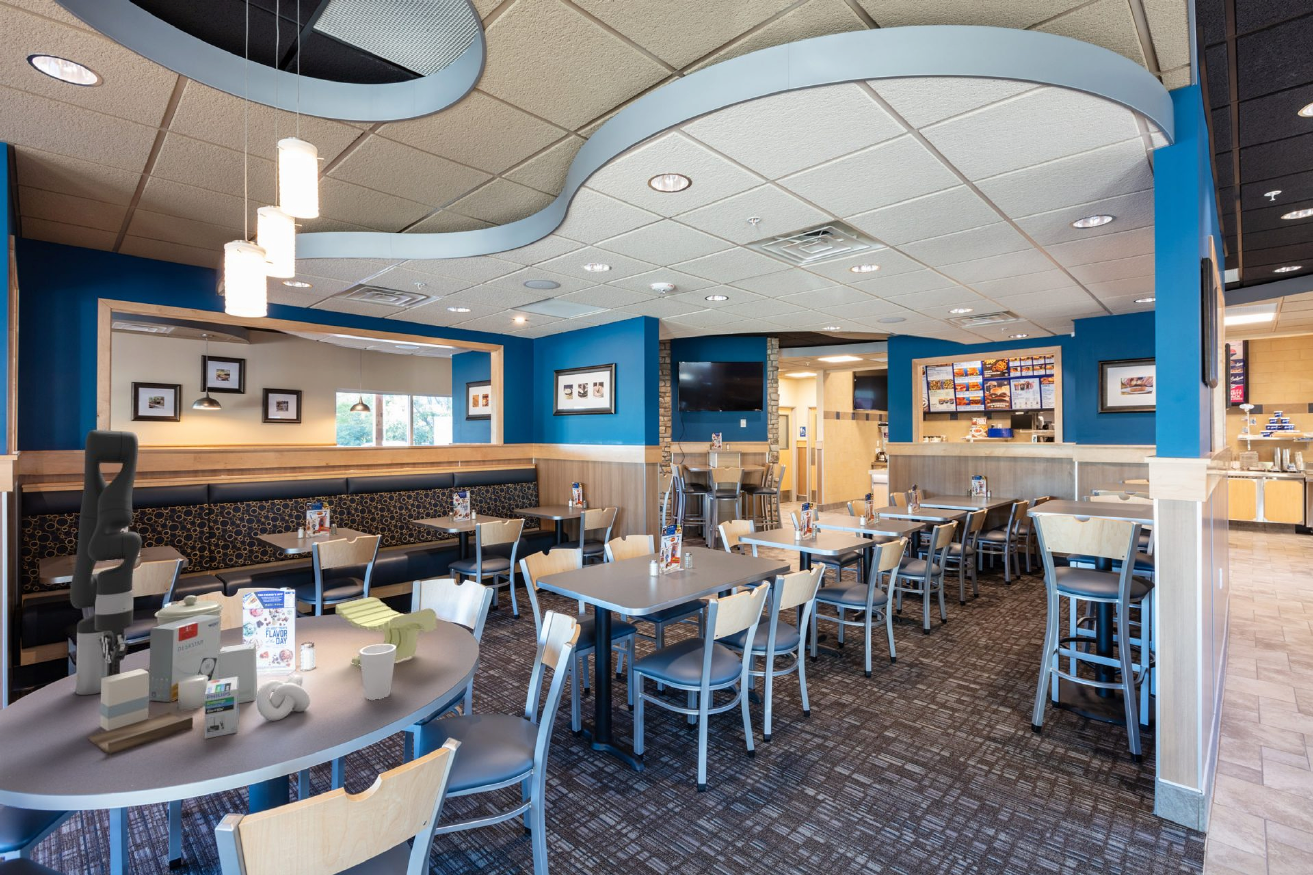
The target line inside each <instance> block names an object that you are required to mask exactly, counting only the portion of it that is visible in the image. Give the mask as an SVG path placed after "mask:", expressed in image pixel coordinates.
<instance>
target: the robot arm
mask: <svg viewBox="0 0 1313 875" xmlns="http://www.w3.org/2000/svg"><path fill="white" fill-rule="evenodd" d="M84 447H85V448H84V475H83V476H84V478H83V492H82V499H81V506H80V511H79V512H80V513H79V522H78V523H79V524H78V539H77V550H76V557H75V563H74V568H73V573H72V578H71V583H70V590H69V591H70V592H69V597H70V598H69V600H70V603H71V605H72V606H73V608H75V609H86V608H87V609H88V608H94V613H93V614H91V615H89V616H88V617H85V618H83V619H81V620H79V621H78V622H77V627H76V673H75V674H76V677H75V694H77V695H79V696H86V695H94V694H101V678H104V677H108V676H112V675H116V674H121V662H122V661H124V660H125V657H126V654H127V652H128V648H129V646H130V643H129V642H128V641H127V634H126V633H125V629H126V628H129V627H131V626H132V625H133V624H134V593H133V575H134V569H135V565H136V562H137V559H138V557H139V554H140V552H141V549H142V544H143V540H142V537H141V536H140V534H139V533H137V532H135V531H125V532H124V531H123V532H121V531H122V530H123V529H126V528H128V527H130V526H131V525H132V522H133V489H134V483H135V480H136V472H137V463H138V462H137V461H138V455H139V440H138V436H137V435H136V433H135V432H132V431H123V430H121V431H120V430H107V429H106V430H105V429H104V430H103V429H92V430H90V431H89V432H88V433H87V436H86V439H85V446H84ZM100 464H122V465H121V468H120V471H119V472H118V474H117V475H115V477H114V479H113V480H112V481H110V482H109V484H108V483H107V481H106V480H105V478H104V476H103V474H102V471H101V469H100ZM119 560H123V562H122V563H121V564H119V565H118V566H115V567H111V568H108V569H105V570H101V571H100V572H98V573H94V569H95V566H96V565H97V562H107V561H119ZM126 641H127V642H126Z"/></svg>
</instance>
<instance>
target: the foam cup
mask: <svg viewBox="0 0 1313 875" xmlns="http://www.w3.org/2000/svg"><path fill="white" fill-rule="evenodd" d="M358 656H359V660H360V663H361V666H360V668H361V675H362V676H361V678H362V684H363V690H364V696H365V697H364V698H365V699H366V700H368V699H369V701H376V700H375V699H379V700H382V698H383V699H385V698H384V697H386V698H387V697H389V696H390V694H391V690H392V689H391V688H392V682H393V676H394V675H393V674H394V666H395V665H394V662H395V656H396V646H395V645H392V644H383V643H379V644H378V643H377V644H371V645H367V646H365V647H362V648H360V650H359V652H358ZM388 695H389V696H388Z"/></svg>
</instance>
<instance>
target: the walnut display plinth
mask: <svg viewBox="0 0 1313 875" xmlns="http://www.w3.org/2000/svg"><path fill="white" fill-rule="evenodd" d="M193 720H194V719H193V717H192V716H188V717H186V718H180V717H179V716H176V715H175V714H172V713H171V712H166V713H163V714H159V715H157V716H153V717H150V718H149V717H148V719H146V720H143V721H139V722H136V723H133V724H129V725H126V726H122V727H119V728H116V729H112V730H109V731H107V730H105V731H102V732H99V733H97V734H94V735H93V734H91V735H89V736H88V741H90V742H92V743H93V744H94V745H95V746H97V747H99V749H101V750H103V752H105V753H107V754H108V755H114V754H117V753H120V752H123V751H125V750H129V749H131V748H135V747H139V746H142V745H144V744H147V743H150V742H151V743H152V742H154V741H156V740H159V739H163V738H166V737H170V736H172V735H176V734H178V733H182V732H185V731H187V730H190V729H193V725H194V723H193Z"/></svg>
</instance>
